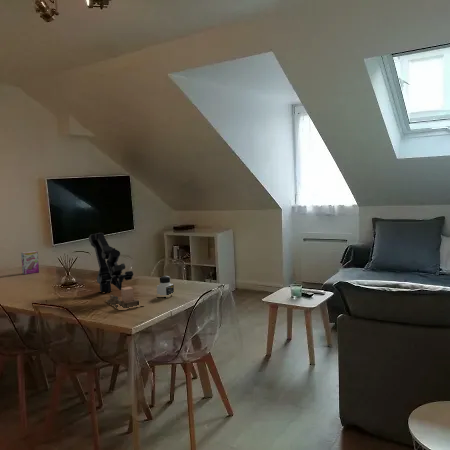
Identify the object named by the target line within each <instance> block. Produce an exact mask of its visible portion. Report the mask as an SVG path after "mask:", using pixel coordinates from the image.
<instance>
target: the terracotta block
mask: <svg viewBox="0 0 450 450" xmlns="http://www.w3.org/2000/svg"><path fill="white" fill-rule="evenodd" d="M120 293H121V297H122V301H123V302H125V303H126V302H131V301H134V299H135V297H134V288H133V287H131V286H125V287H122V288H121V290H120Z"/></svg>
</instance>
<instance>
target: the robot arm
mask: <svg viewBox="0 0 450 450" xmlns="http://www.w3.org/2000/svg"><path fill="white" fill-rule="evenodd" d="M88 241H89V242H90V245H91V246H92V247H93V248H94V252H95V255H96V259H97V262H98V263H97V264H98V267H99V269H98V272H97V276H96V283H98V284H99V291H101V292H108V293H110V292H109V291H111V290H112V286H111V285H114V287H116V288H117V290H119V291H121V288H123V287H122V286H123V285H122V284H123V282H124V280H125V281H130V280H132V279H133V276H134V271H132V270H129V271H125V272H124V274H122V273H123V270H126V265H125V263H120V264H118V263H117V262H119V260H120V256H121V251H119V250H118V249H116V248H115V247H112V246H111V245H110V244H109V243H108V241H107V238H106V237H105V233H104V232H96V233H93V234H90V235H89V236H88ZM111 292H112V291H111Z"/></svg>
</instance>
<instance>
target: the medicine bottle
mask: <svg viewBox="0 0 450 450" xmlns="http://www.w3.org/2000/svg"><path fill="white" fill-rule="evenodd" d="M174 287H175V286H174V283H171V277H170V276H168V275H163V276H160V277H159V284H158V285H156V295H157V294H160V295H169V294H171V293H173V292H174V291H175V289H174ZM174 293H175V292H174Z"/></svg>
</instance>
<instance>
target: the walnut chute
mask: <svg viewBox="0 0 450 450" xmlns="http://www.w3.org/2000/svg"><path fill="white" fill-rule="evenodd" d="M109 295H110V296H109V297H110V298H109V299H105V302H106V301H107V302H108V303H107V302H106V303H107V304H109V303H110V304H111V305H113V306H115V307H116V308H117V307H118V305H116V304H119V305H120V306H122V307H123V308H129V307H133V306H137V305H139V302H140V300H139V299H136V298H134V301H131V302H126V303H125V302H123V301H121V300H120V299H118V298H119V296H115V295H113V294H109ZM110 304H109V305H110ZM111 305H110V306H111ZM113 306H112V307H113ZM116 308H115V309H116Z"/></svg>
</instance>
